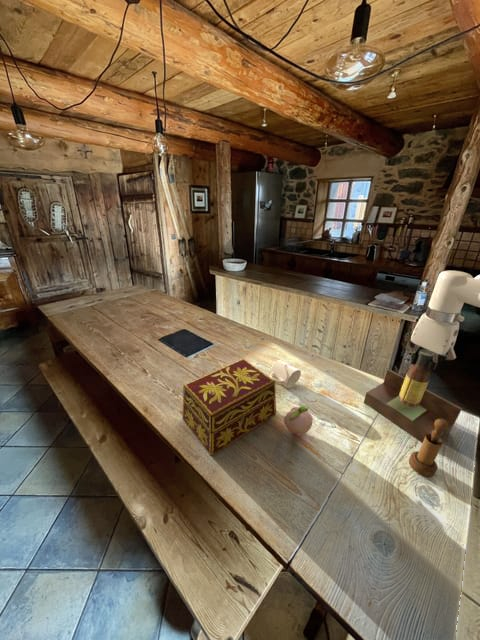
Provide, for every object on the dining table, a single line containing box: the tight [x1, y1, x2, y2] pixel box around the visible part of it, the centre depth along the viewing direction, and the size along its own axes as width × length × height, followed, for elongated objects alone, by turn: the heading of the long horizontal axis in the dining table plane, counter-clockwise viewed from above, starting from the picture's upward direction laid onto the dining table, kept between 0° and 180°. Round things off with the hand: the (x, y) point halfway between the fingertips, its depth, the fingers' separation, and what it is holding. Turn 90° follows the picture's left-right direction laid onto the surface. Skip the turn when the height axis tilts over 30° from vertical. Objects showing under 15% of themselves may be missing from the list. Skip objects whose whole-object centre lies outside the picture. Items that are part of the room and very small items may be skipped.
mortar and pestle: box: [408, 419, 449, 478], centre depth 73 cm, size 7×6×18 cm
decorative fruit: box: [283, 405, 313, 435], centre depth 86 cm, size 9×8×10 cm
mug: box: [269, 359, 302, 389], centre depth 109 cm, size 12×9×8 cm
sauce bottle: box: [399, 348, 434, 407], centre depth 86 cm, size 7×6×20 cm
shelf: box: [363, 368, 463, 444], centre depth 92 cm, size 24×12×11 cm, turn 32°
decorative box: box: [181, 358, 277, 456], centre depth 90 cm, size 28×19×15 cm
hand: (421, 366), depth 84 cm, fingers closed on sauce bottle, 4 cm apart
